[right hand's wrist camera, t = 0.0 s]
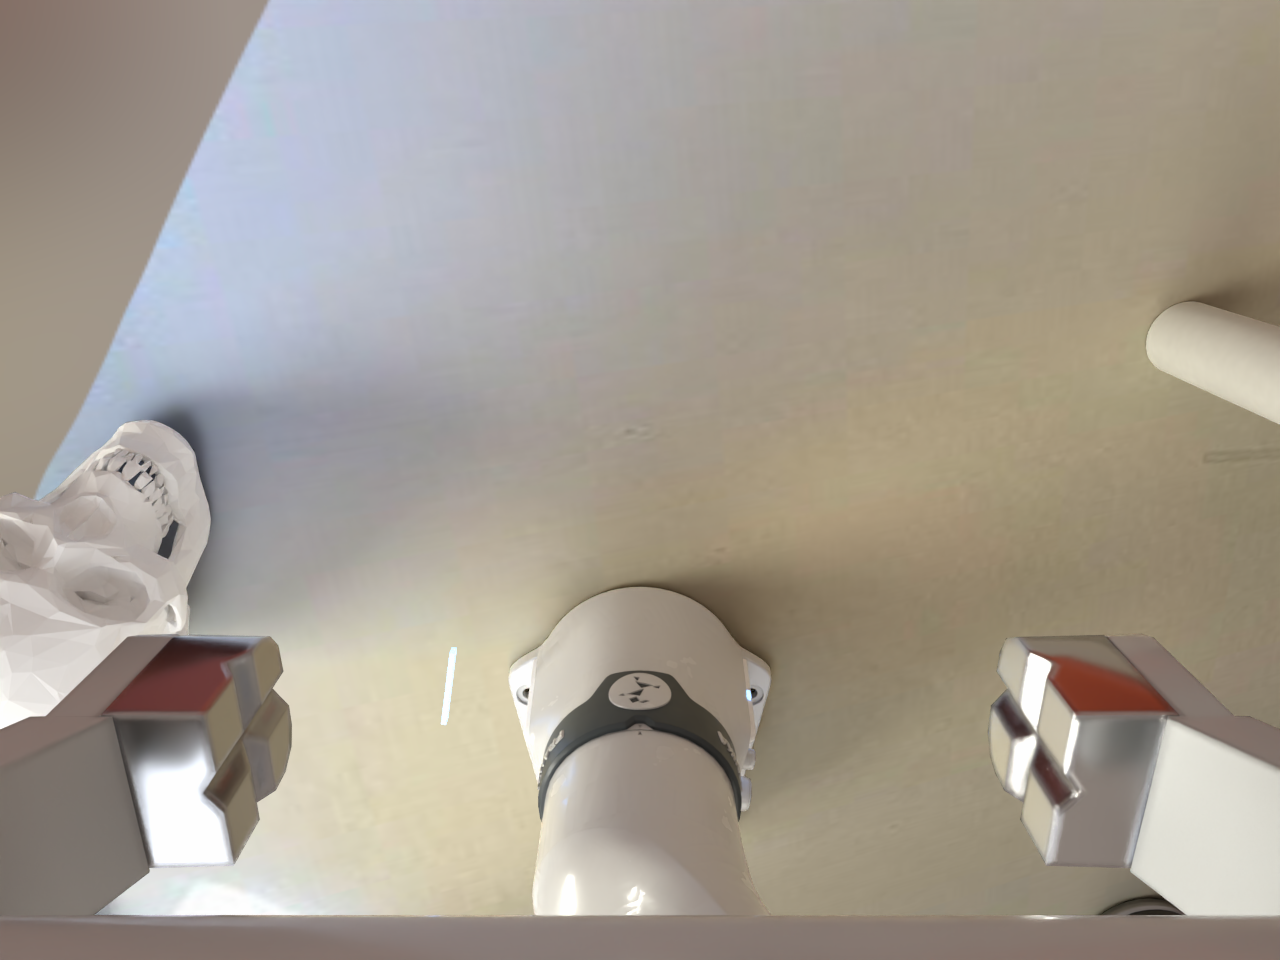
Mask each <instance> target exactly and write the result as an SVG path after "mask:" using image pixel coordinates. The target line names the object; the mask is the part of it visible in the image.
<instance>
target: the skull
mask: <svg viewBox="0 0 1280 960" xmlns="http://www.w3.org/2000/svg"><path fill="white" fill-rule="evenodd" d="M133 456H135V457H134V459H133V460H132V461H131V459H132V458H133ZM123 457H124V458H123ZM141 460H143V461H144V462H145V463H144V464H143V465H141V466H140V465H139V464H138V463H139V462H140V461H141ZM124 462H127V464H126V465H125V466H124V468H123V471H122V473H120V472H117V471H118V470H119V469H120V467H121V466H122V465H123V464H124ZM149 466H151V467H152V469H151V471H150V473H149V474H147V473H146V472H145V471H146V470H147V469H148V468H149ZM140 471H141V472H143V473H142V474H141V475H140V476H139V477H138V479H137V480H136V482H135V484H134V486H132V485H131V484H130V483H129V482H128V481H129V480H130V479H131V478H133V477H134V476H135V475H136V474H138V473H139V472H140ZM154 473H155V474H156V477H155V479H154V481H152V482H151V483H150V484H148V483H149V482H150V481H151V480H152V479H153V478H152V477H151V475H152V474H154ZM147 484H148V485H147ZM145 485H147V486H146V487H145V488H143V487H144V486H145ZM156 487H157V488H156ZM159 487H161V488H160V489H159ZM142 488H143V489H142ZM137 489H142V490H141V492H139V491H138V490H137ZM147 497H148V498H147ZM153 502H154V504H153V505H152V503H153ZM173 519H174V520H175V521H176V522H177V523H178V524H179V525H178V528H177V531H176V535H175V538H174V542H173V547H172V552H171V555H170V557H169V558H168V559H167V558H164V557H162V556H160V555H158V551H159V548H160V545H161V542H162V538H163V537H165V536H166V535H167V533H168V531H169V526H170V525H171V524H172V522H173ZM210 524H211V518H210V511H209V505H208V502H207V499H206V496H205V492H204V489H203V486H202V483H201V480H200V476H199V471H198V466H197V461H196V456H195V453H194V451H193V450H192V448H191V446H190V445H189V443H188V442H187V441H186V440H185V439H184V438H183V437H182V436H181V435H180V434H179V433H178V432H176V431H175V430H173V429H172V428H170V427H168V426H166V425H164V424H162V423H160V422H157V421H152V420H139V421H131V422H127V423H125V424H123V425H122V426H121V427H119V428H118V430H117V431H116V433H115V434H114V435H113V437H112V438H111V439H110V440H109V441H108V442H107V443H106V444H105V445H104V446H103V447H101V448H100V449H99V450H97V451H95V452H94V453H93V454H91V455H90V456H89V457H88V458H87V459H86V460H85V461H84V462H83V463H82V464H81V465H80V466H79V467H78V468H77V469H76V470H75V471H73V472H72V473H71V474H70V475H69V476H68V477H67V479H66V480H65V481H64V482H63V483H62V484H61V485H60V486H59V487H58V488H56V489H55V490H54V491H52V492H51V493H49V494H48V495H46V496H45V497H43V498H42V499H41V500H39V501H37V500H33V499H31V498H29V497H26V496H24V495H21V494H19V493H16V492H13V493H10V494H8V495H4V496H2V497H0V729H2V728H4V727H7V726H9V725H11V724H14V723H16V722H18V721H21V720H23V719H25V718H28V717H30V716H46V715H47V714H48V713H49V712H50V711H51V710H52V709H53V708H54V707H55V706H57V705H58V704H59V703H60V702H61V701H62V700H63V699H64V698H65V697H66V696H67V695H68V694H69V693H70V692H71V691H72V690H73V689H74V688H75V687H76V686H77V685H78V684H79V683H80V682H81V681H82V680H83V679H84V678H85V677H86V676H87V675H89V674H90V673H91V672H92V671H93V670H94V669H95V668H96V667H97V666H98V665H99V664H100V663H101V662H102V661H103V660H104V659H105V658H106V657H107V656H108V655H109V654H110V653H111V652H112V651H113V650H114V649H115V648H116V647H117V646H118V645H119V644H121V643H122V642H123V641H124V640H125V639H126V638H127V637H129V636H135V635H152V634H178V635H188V627H189V616H190V606H189V605H187V601H188V595H187V590H186V587H187V585H188V583H189V581H190V579H191V577H192V575H193V572H194V570H195V568H196V566H197V564H198V562H199V559H200V557H201V555H202V553H203V551H204V549H205V547H206V544H207V541H208V537H209V531H210Z"/></svg>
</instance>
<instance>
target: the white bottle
mask: <svg viewBox="0 0 1280 960" xmlns="http://www.w3.org/2000/svg"><path fill="white" fill-rule="evenodd" d="M1146 351H1147V355H1148V357H1149V359H1150V361H1151V362H1152V364H1153V365H1154V366H1155V367H1156V368H1158V369H1159V370H1161V371H1163V372H1165V373H1168V374H1170V375H1172V376H1174V377H1176V378H1179V379H1181V380H1183V381H1185V382H1187V383H1190V384H1192V385H1194V386H1196V387H1198V388H1200V389H1203V390H1205V391H1207V392H1209V393H1211V394H1214V395H1216V396H1218V397H1220V398H1222V399H1225V400H1227V401H1229V402H1231V403H1233V404H1236V405H1238V406H1240V407H1242V408H1244V409H1246V410H1249V411H1251V412H1253V413H1255V414H1257V415H1260V416H1262V417H1264V418H1266V419H1268V420H1271V421H1273V422H1275V423H1277V424H1279V425H1280V327H1279V326H1276V325H1273V324H1269V323H1266V322H1263V321H1259V320H1256V319H1253V318H1249V317H1246V316H1243V315H1240V314H1236V313H1233V312H1230V311H1226V310H1223V309H1220V308H1217V307H1213V306H1210V305H1207V304H1203V303H1200V302H1195V301H1188V302H1182V303H1178V304H1176V305H1173V306H1171V307H1169V308H1168V309H1166V310H1165V311H1164V312H1162V313H1161V314H1160V315H1159V316H1158V317H1157V318H1156V319H1155V321H1154V322H1153V324H1152V325H1151V327H1150V329H1149V332H1148V334H1147V339H1146Z"/></svg>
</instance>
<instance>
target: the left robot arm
mask: <svg viewBox="0 0 1280 960" xmlns="http://www.w3.org/2000/svg"><path fill="white" fill-rule="evenodd" d="M1101 915H1186V914H1184V913H1183V912H1182V911H1181V910H1179V909H1178V908H1177V907H1175V906H1174V905H1173V904H1172V903H1170V902H1169V901H1166V900H1161V899H1138V900H1132V901H1128V902H1125V903H1122V904H1119V905H1117V906H1115V907H1112V908H1111V909H1109V910H1107V911H1106V912H1104V913H1103V914H1101Z"/></svg>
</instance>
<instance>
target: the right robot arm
mask: <svg viewBox="0 0 1280 960" xmlns="http://www.w3.org/2000/svg"><path fill="white" fill-rule="evenodd" d="M456 649H457V648H454V647H452V649H451V652H450V656H449V664H448V672H447V681H446V689H445V697H444V705H443V713H442V721H441V724H443V725H446V722H447V719H448V713H449V705H450V697H451V689H452V681H453V673H454V665H455V657H456ZM282 673H283V667H282V662H281V657H280V652H279V647H278V645H277V643H276V642H275V641H274V640H273V639H272V638H271V637H270V636H222V635H178V634H152V635H135V636H129V637H127V638H126V639H125V640H124V641H123V642H122V643H121V644H119V645H118V646H117V647H116V648H115V649H114V650H113V651H112V652H111V653H110V654H109V655H108V656H107V657H106V658H105V659H104V660H103V661H102V662H101V663H100V664H99V665H98V666H97V667H96V668H95V669H94V670H93V671H92V672H91V673H90V674H89V675H87V676H86V677H85V678H84V679H83V680H82V681H81V682H80V683H79V684H78V685H77V686H76V687H75V688H74V689H73V690H72V691H71V692H70V693H69V694H68V695H67V696H66V697H65V698H64V699H63V700H62V701H61V702H60V703H59V704H58V705H57V706H55V707H54V708H53V709H52V710H51V711H50V712H49V713H48V714H47V715H46V716H30V717H28V718H25V719H23V720H21V721H18V722H16V723H14V724H11V725H9V726H7V727H4V728H2V729H0V960H1280V729H1278V728H1275V727H1273V726H1271V725H1269V724H1266V723H1264V722H1262V721H1259V720H1257V719H1255V718H1252V717H1250V716H1234V715H1233V714H1232V713H1231V712H1230V711H1229V710H1228V709H1227V708H1226V707H1225V706H1224V705H1223V704H1222V703H1220V702H1219V701H1218V700H1217V699H1216V698H1215V697H1214V696H1213V695H1212V694H1211V693H1210V692H1209V691H1208V690H1207V689H1206V688H1205V687H1204V686H1203V685H1202V684H1201V683H1200V682H1199V681H1198V680H1197V679H1196V678H1195V677H1194V676H1193V675H1192V674H1191V673H1190V672H1189V671H1188V670H1187V669H1185V668H1184V667H1183V666H1182V665H1181V664H1180V663H1179V662H1178V661H1177V660H1176V659H1175V658H1174V657H1173V656H1172V655H1171V654H1170V653H1169V652H1168V651H1167V650H1166V649H1165V648H1164V647H1163V646H1162V645H1161V644H1160V643H1159V642H1158V641H1157V640H1156V639H1155V638H1153V637H1150V636H1147V635H1144V634H1122V635H1084V636H1043V637H1014V638H1006V640H1005V642H1004V644H1003V646H1002V648H1001V651H1000V655H999V660H998V666H997V673H998V674H999V676H1000V677H1001V679H1002V680H1003V682H1004V683H1005V685H1006V687H1007V688H1008V689H1007V690H1006V691H1005V692H1004V693H1003V694H1002V695H1001V696H1000V697H999V698H998V699H997V700H996V701H995V702H994V703H993V704H992V705H991V710H990V718H989V726H988V738H989V749H990V757H991V761H992V764H993V767H994V770H995V774H996V776H997V777H998V779H999V781H1000V783H1001V785H1002V787H1003V789H1004V790H1005V791H1006V792H1008V793H1009V794H1011V795H1012V796H1014V797H1015V798H1017V799H1019V800H1020V801H1022V802H1023V807H1022V813H1021V819H1020V820H1021V821H1022V823H1023V825H1024V827H1025V828H1026V830H1027V832H1028V834H1029V836H1030V837H1031V839H1032V841H1033V843H1034V844H1035V846H1036V848H1037V850H1038V851H1039V853H1040V855H1041V857H1042V859H1043V860H1044V862H1045V864H1046V866H1080V867H1116V868H1131V870H1130V872H1131V873H1133V874H1134V875H1135V876H1136V877H1138V878H1139V879H1140V880H1142V881H1143V882H1144V883H1146V884H1147V885H1148V886H1149V887H1151V888H1152V889H1153V890H1155V891H1156V892H1157V893H1159V894H1160V895H1161V896H1162V897H1164V898H1165V899H1166V900H1168V901H1169V902H1170V903H1172V904H1173V905H1174V906H1175V907H1177V908H1178V909H1179V910H1181V911H1182V912H1183V913H1184V914H1186V915H771V914H770V913H769V911H768V910H767V908H766V907H765V905H764V904H763V902H762V901H761V899H760V897H759V895H758V893H757V891H756V889H755V887H754V885H753V882H752V879H751V875H750V872H749V868H748V864H747V860H746V857H745V853H744V848H743V844H742V839H741V834H740V829H739V824H738V822H739V819H740V814H741V811H745V810H748V809H749V806H750V802H751V793H752V785H751V779H750V778H748V777H744V775H745V772H746V770H753V769H754V766H755V759H756V753H755V750H754V749H752V748H753V744H754V741H755V737H756V734H757V730H758V727H759V724H760V720H761V717H762V713H763V710H764V706H765V703H766V700H767V696H768V693H769V689H770V686H771V670H770V667H769V666H768V664H767V663H766V662H764V661H763V660H762V659H761V658H759V657H758V656H756V655H754V654H753V653H751V652H749V651H747V650H746V649H744V648H742V647H741V646H740V645H739V644H738V643H737V642H736V641H735V640H734V639H733V637H732V636H731V635H730V633H729V632H728V630H727V629H726V628H725V626H724V625H723V624H722V623H721V621H720V620H719V619H718V618H717V617H716V616H715V615H714V614H713V613H712V612H710V611H709V610H708V609H707V608H705V607H704V606H703V605H701V604H699V603H698V602H696V601H694V600H693V599H691V598H689V597H686V596H684V595H682V594H679V593H676V592H673V591H669V590H665V589H660V588H653V587H627V588H620V589H615V590H611V591H607V592H604V593H601V594H599V595H596V596H594V597H592V598H589V599H588V600H586V601H584V602H582V603H581V604H579V605H577V606H576V607H575V608H573V609H572V610H571V611H570V612H568V613H567V614H566V615H565V616H564V617H563V618H562V619H561V620H560V621H559V623H558V624H557V625H556V626H555V628H554V629H553V631H552V632H551V633H550V635H549V636H548V638H547V639H546V640H545V641H544V642H543V644H541V645H540V646H539V647H538V648H536V649H534V650H533V651H531V652H529V653H527V654H526V655H524V656H522V657H521V658H519V659H518V660H517V661H516V662H514V663H513V664H512V666H511V667H510V670H509V686H510V689H511V693H512V696H513V699H514V703H515V706H516V710H517V713H518V717H519V720H520V723H521V727H522V730H523V734H524V737H525V741H526V744H527V748H528V751H529V754H530V758H531V761H532V765H533V768H534V772H535V775H536V779H537V782H538V790H539V796H538V807H539V813H540V819H541V822H542V825H541V832H540V839H539V846H538V854H537V861H536V868H535V875H534V883H533V890H532V900H533V908H534V914H535V915H95V914H96V913H97V912H98V911H100V910H101V909H102V908H104V907H105V906H106V905H108V904H109V903H110V902H111V901H113V900H114V899H115V898H117V897H118V896H119V895H120V894H122V893H123V892H124V891H126V890H127V889H128V888H130V887H131V886H132V885H133V884H135V883H136V882H137V881H139V880H140V879H141V878H143V877H144V876H145V875H146V874H148V873H149V871H150V870H149V868H163V867H198V866H234V864H235V862H236V861H237V859H238V857H239V855H240V853H241V852H242V850H243V848H244V846H245V845H246V843H247V841H248V839H249V837H250V836H251V834H252V832H253V830H254V828H255V827H256V825H257V823H258V821H259V820H260V819H259V813H258V807H257V802H258V801H260V800H261V799H263V798H265V797H266V796H268V795H269V794H271V793H272V792H274V791H275V790H276V789H277V787H278V785H279V783H280V781H281V779H282V777H283V775H284V773H285V772H286V767H287V763H288V759H289V754H290V750H291V743H292V723H291V716H290V709H289V705H288V704H287V703H286V702H285V701H284V700H283V699H282V698H281V697H280V696H279V695H278V694H277V693H276V692H275V691H274V690H273V689H272V688H273V687H274V685H275V683H276V682H277V680H278V679H279V677H280V676H281V674H282ZM527 688H530V689H529V693H528V692H526V691H525V689H527ZM750 688H753V689H755V691H754V692H752V693H751V689H750Z"/></svg>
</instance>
